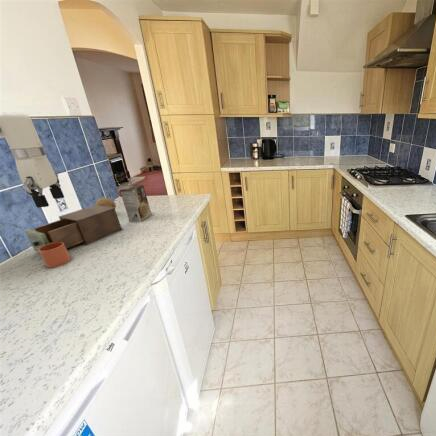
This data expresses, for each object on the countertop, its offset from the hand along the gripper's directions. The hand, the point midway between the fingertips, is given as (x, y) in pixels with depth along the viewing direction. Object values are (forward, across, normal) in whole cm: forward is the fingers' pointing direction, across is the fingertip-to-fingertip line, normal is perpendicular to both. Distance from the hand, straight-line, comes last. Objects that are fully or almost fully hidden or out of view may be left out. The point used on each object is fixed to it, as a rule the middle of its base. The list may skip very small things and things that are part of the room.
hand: (51, 202), depth 87 cm
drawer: (+19, -3, -5) cm, 19 cm away
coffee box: (+20, -27, +18) cm, 38 cm away
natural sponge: (+20, -36, 0) cm, 41 cm away
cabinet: (+20, -12, +3) cm, 23 cm away
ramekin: (+20, +9, 0) cm, 22 cm away
